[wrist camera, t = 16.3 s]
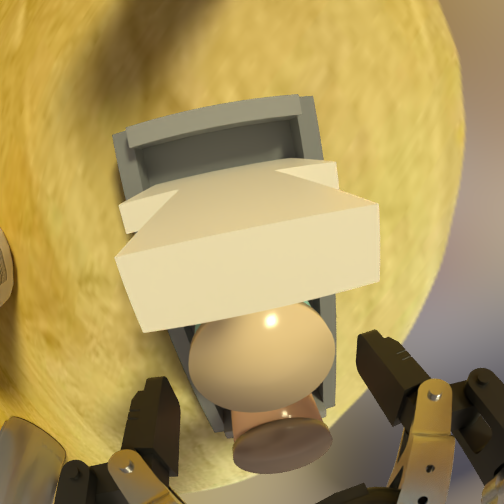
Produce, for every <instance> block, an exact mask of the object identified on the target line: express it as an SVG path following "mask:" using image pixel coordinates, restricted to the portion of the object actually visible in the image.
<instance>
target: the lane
mask: <svg viewBox="0 0 504 504" xmlns="http://www.w3.org/2000/svg"><path fill="white" fill-rule="evenodd" d="M112 137H113V142H114V148H115V153H116V158H117V163H118V168H119V172H120V177H121V181H122V186H123V190H124V194H125V198H126V200H128V199H130V198H132V197H134V196H135V195H137V194H139V193H141V192H143V191H145V190H146V189H148V188H150V187H152V186H154V185H156V184H160V183H164V182H168V181H172V180H177V179H181V178H185V177H190V176H194V175H198V174H203V173H208V172H212V171H217V170H222V169H227V168H233V167H238V166H243V165H249V164H254V163H260V162H266V161H273V160H279V159H286V158H300V159H313V160H323V153H322V146H321V139H320V133H319V127H318V121H317V115H316V110H315V104H314V99H313V96H305V97H299V95H298V94H295V95H283V96H273V97H265V98H257V99H249V100H242V101H236V102H230V103H224V104H218V105H213V106H208V107H203V108H198V109H193V110H189V111H184V112H180V113H176V114H172V115H168V116H164V117H160V118H157V119H153V120H149V121H146V122H142V123H139V124H136V125H133V126H129V127H126V131H123V132H120V133H117V134H114V135H112ZM137 232H138V231H137ZM137 232H135V234H136V233H137ZM308 302H309V304H310V306H311V307H312V308H313V309H314V310H316V311H317V312H318V313H319V315H320V316H321V317H322V318H323V320H324V322H325V323H326V325H327V327H328V328H329V330H330V331H331V333H332V336H333V338H334V343H335V357H334V361H333V364H332V367H331V369H330V371H329V373H328V375H327V376H326V378H325V379H324V381H323V382H322V383H321V384H320V385H319V386H318V387H317V388H316V389H315V390H314V391H313V392H311V393H312V395H313V398H314V400H315V403H316V405H317V408H318V410H319V413H320V416H321V418H323V417H326V409H327V408H330V407H333V406H335V389H336V298H335V294H332V295H328V296H324V297H320V298H316V299H312V300H308ZM167 330H168V333H169V335H170V338H171V340H172V343H173V345H174V348H175V350H176V352H177V355H178V357H179V359H180V362H181V364H182V366H183V369H184V371H185V373H186V375H187V377H188V380H189V382H190V384H191V386H192V388H193V390H194V393H195V395H196V397H197V399H198V401H199V403H200V405H201V407H202V409H203V411H204V413H205V415H206V417H207V419H208V421H209V423H210V425H211V427H212V429H213V430H214V432H223V431H224V433H225V435H226V437H227V438H234V437H233V427H232V418H231V410H229V409H226V408H223V407H220V406H218V405H216V404H214V403H212V402H211V401H209V400H208V399H206V398H205V397H204V396H203V395H202V394H201V393H200V392H199V391H198V390H197V389H196V387H195V386H194V384H193V382H192V380H191V377H190V373H189V352H190V345H191V342H192V338H193V336H194V334H195V325H189V326H184V327H178V328H172V329H167Z"/></svg>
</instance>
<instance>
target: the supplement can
mask: <svg viewBox="0 0 504 504" xmlns="http://www.w3.org/2000/svg"><path fill="white" fill-rule="evenodd" d="M12 287H13V261H12V257H11V252H10V247H9V244H8V242H7V240H6V237H5V235H4V233H3V231H2V229H1V228H0V307H1V306H2V305H3V304H4V303H5V302H6V301H7V300H8V298H9V297H10V295H11V291H12Z"/></svg>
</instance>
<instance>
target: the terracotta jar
mask: <svg viewBox="0 0 504 504" xmlns="http://www.w3.org/2000/svg"><path fill="white" fill-rule="evenodd" d="M231 418H232V427H233V437H234V444H233V447H232V451H233V460H234V463H235V464H236V465H237V466H238V467H239V468H241V469H243V470H245V471H248V472H252V473H259V474H273V473H282V472H287V471H291V470H294V469H298V468H301V467H303V466H306V465H308V464H310V463H312V462H314V461H315V460H317V459H319V458H320V457H321V456H323V455H324V454H325V453H326V452H327V451H328V450H329V448H330V446H331V444H332V436H331V434H330V431H329V429H328V426H327V425H326V424H325V423H324V422H323V421H322V418H321V416H320V413H319V410H318V408H317V405H316V403H315V400H314V398H313V395H312V393H310V394H309V395H308V396H306V397H304V398H303V399H301V400H300V401H298V402H296V403H294V404H291V405H289V406H286V407H284V408H280V409H277V410H272V411H267V412H257V413H248V412H238V411H233V410H231Z"/></svg>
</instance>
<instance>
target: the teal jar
mask: <svg viewBox="0 0 504 504" xmlns="http://www.w3.org/2000/svg"><path fill="white" fill-rule="evenodd" d="M334 357H335V343H334V338H333V336H332V333H331V331H330V330H329V328H328V327H327V325H326V323H325V322H324V320H323V318H322V317H321V316H320V315H319V313H318V312H317V311H316V310H314V309H313V308H312V307H311V306H310V304H309V302H308V301H304V302H300V303H296V304H291V305H287V306H283V307H279V308H274V309H270V310H265V311H261V312H256V313H251V314H247V315H242V316H237V317H232V318H227V319H222V320H217V321H211V322H206V323H201V324H195V334H194V336H193V338H192V342H191V345H190V352H189V373H190V377H191V380H192V382H193V384H194V386H195V387H196V389H197V390H198V391H199V392H200V393H201V394H202V395H203V396H204V397H205V398H206V399H208V400H209V401H211V402H212V403H214V404H216V405H218V406H220V407H223V408H226V409H229V410H233V411H238V412H248V413H257V412H267V411H272V410H277V409H280V408H284V407H286V406H289V405H291V404H294V403H296V402H298V401H300V400H301V399H303V398H304V397H306V396H308V395H309V394H310V393H311V392H313V391H314V390H315V389H316V388H317V387H318V386H319V385H320V384H321V383H322V382H323V381H324V379H325V378H326V376H327V375H328V373H329V371H330V369H331V367H332V364H333V361H334Z"/></svg>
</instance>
